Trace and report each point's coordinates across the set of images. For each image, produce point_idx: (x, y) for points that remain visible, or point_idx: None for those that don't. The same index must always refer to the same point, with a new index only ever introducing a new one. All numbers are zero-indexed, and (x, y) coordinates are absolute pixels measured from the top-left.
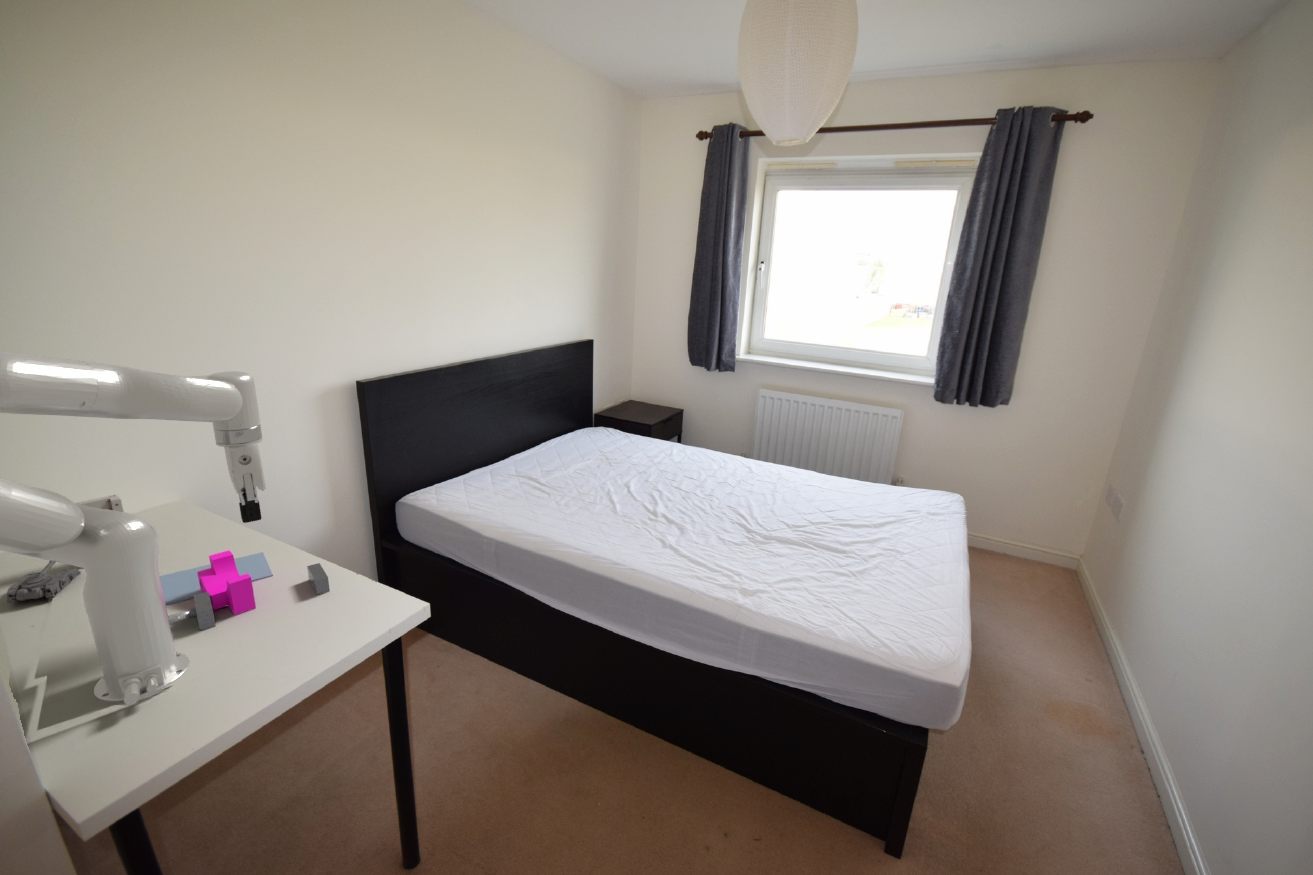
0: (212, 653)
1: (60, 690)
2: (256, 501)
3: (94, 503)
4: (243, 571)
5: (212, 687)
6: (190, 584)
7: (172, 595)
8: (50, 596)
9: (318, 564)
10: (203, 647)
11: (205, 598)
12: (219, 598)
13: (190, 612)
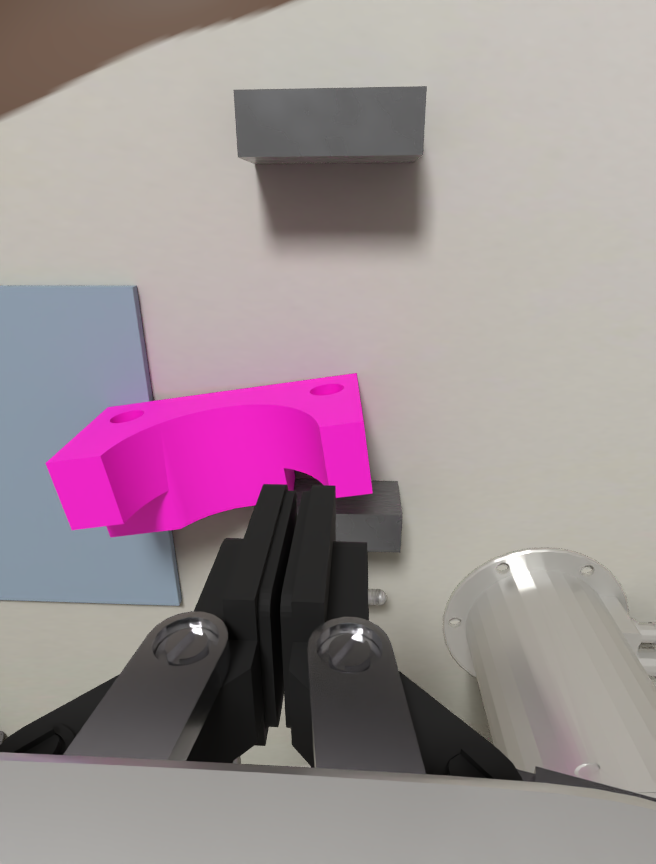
0: (552, 502)
1: (467, 724)
2: (387, 655)
3: None
4: (51, 373)
5: None
6: None
7: (137, 557)
8: (2, 740)
9: (249, 99)
10: (500, 516)
11: None
12: (288, 476)
13: None
